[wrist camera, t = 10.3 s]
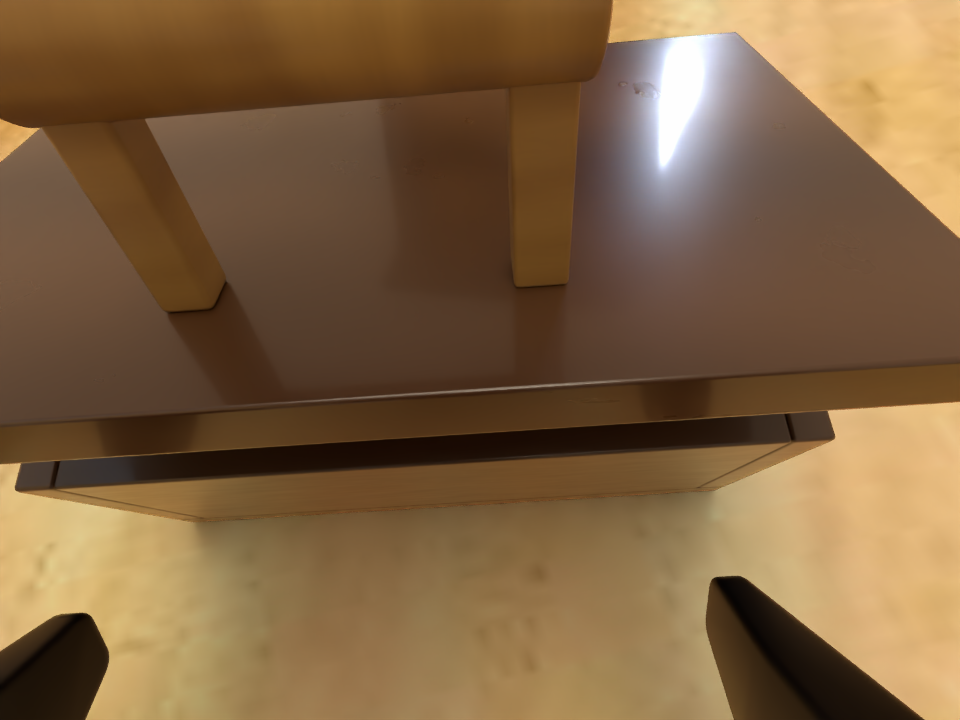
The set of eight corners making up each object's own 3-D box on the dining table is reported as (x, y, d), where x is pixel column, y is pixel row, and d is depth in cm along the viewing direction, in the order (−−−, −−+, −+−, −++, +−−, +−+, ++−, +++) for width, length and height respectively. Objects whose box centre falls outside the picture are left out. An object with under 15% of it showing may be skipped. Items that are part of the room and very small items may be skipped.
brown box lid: (1035, 399, 6) (1643, -165, 3) (-263, 483, 7) (-1088, 86, 3) (727, 67, 13) (796, -209, 10) (105, 119, 14) (-36, -127, 10)
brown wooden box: (716, 490, 16) (838, 439, 10) (192, 522, 16) (10, 491, 10) (659, 222, 19) (725, 66, 13) (228, 254, 20) (108, 118, 14)
